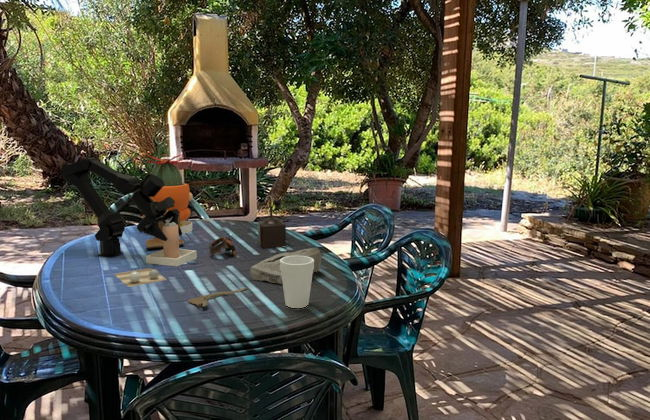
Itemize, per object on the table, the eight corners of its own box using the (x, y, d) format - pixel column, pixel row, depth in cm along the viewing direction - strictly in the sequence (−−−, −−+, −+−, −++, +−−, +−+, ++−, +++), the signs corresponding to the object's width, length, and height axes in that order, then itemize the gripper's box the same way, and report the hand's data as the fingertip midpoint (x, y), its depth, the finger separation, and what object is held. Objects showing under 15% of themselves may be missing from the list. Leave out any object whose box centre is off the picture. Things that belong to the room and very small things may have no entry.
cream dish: (146, 264, 177) (145, 256, 176) (167, 255, 189) (167, 247, 188) (177, 267, 173) (176, 259, 173) (196, 258, 185) (196, 250, 184)
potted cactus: (148, 227, 238) (144, 153, 231) (196, 226, 240) (193, 153, 234) (136, 237, 216) (132, 156, 210) (189, 236, 219) (186, 156, 213)
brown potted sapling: (287, 247, 203) (287, 203, 200) (260, 248, 200) (260, 204, 197) (281, 238, 218) (281, 197, 215) (256, 239, 215) (255, 198, 212)
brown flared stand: (179, 241, 211) (178, 206, 209) (186, 247, 201) (185, 210, 198) (142, 245, 204) (140, 208, 202) (146, 251, 194) (144, 213, 191)
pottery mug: (236, 260, 184) (224, 243, 182) (215, 270, 187) (203, 253, 184) (242, 245, 195) (231, 228, 192) (222, 254, 198) (211, 237, 195)
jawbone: (179, 309, 138) (178, 301, 138) (225, 288, 156) (224, 282, 156) (204, 312, 134) (204, 304, 134) (249, 290, 152) (248, 284, 152)
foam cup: (280, 299, 144) (280, 255, 141) (312, 298, 145) (312, 255, 142) (280, 311, 134) (279, 265, 132) (314, 311, 135) (314, 264, 133)
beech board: (113, 275, 164) (113, 273, 164) (150, 269, 171) (150, 267, 171) (128, 288, 151) (128, 286, 151) (167, 281, 159) (167, 279, 159)
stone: (295, 289, 153) (326, 272, 171) (295, 259, 152) (326, 245, 169) (246, 280, 162) (280, 264, 179) (246, 251, 160) (280, 238, 177)
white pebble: (126, 283, 155) (126, 272, 154) (134, 279, 158) (133, 269, 157) (136, 284, 154) (135, 273, 153) (143, 281, 157) (142, 270, 156)
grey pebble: (147, 279, 159) (146, 270, 158) (153, 276, 161) (152, 267, 161) (155, 280, 158) (154, 271, 157) (160, 277, 161) (160, 268, 160)
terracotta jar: (164, 261, 177) (162, 224, 175) (163, 257, 183) (162, 221, 180) (179, 260, 179) (178, 223, 177) (179, 256, 184) (177, 220, 182)
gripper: (142, 194, 169) (172, 228, 168) (174, 187, 186) (201, 218, 185) (124, 215, 173) (153, 249, 171) (157, 206, 190) (183, 237, 189)
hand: (174, 237), depth 179 cm, fingers open, 9 cm apart
